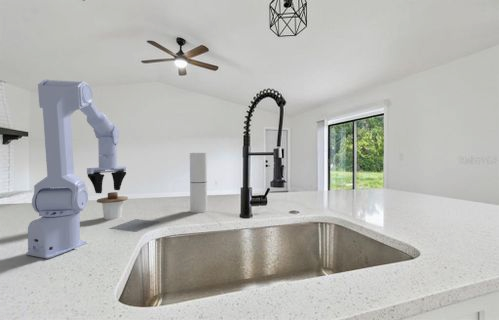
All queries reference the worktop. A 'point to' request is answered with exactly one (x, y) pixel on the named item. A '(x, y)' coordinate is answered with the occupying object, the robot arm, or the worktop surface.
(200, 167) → the cylindrical container
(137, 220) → the rubber mat
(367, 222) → the worktop surface
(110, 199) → the walnut lid
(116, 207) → the white cup
